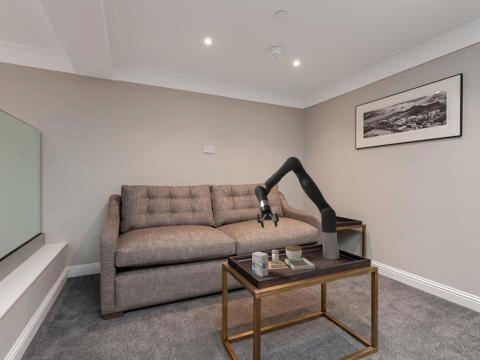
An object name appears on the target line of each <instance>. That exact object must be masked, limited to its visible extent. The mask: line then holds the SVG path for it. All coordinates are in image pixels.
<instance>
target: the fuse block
mask: <svg viewBox="0 0 480 360" xmlns="http://www.w3.org/2000/svg"><path fill="white" fill-rule="evenodd" d="M278 269H289V267H288V265H286V264H285V263H284V262H283V261H281V260H279V264H272V260H271V261H270V260H268V270H278Z"/></svg>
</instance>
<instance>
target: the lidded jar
mask: <svg viewBox="0 0 480 360" xmlns="http://www.w3.org/2000/svg"><path fill="white" fill-rule="evenodd" d="M302 253H303V247H302V246H300V245H294V244H292V245H288V246H285V254H286V257H287V259H291V258H302V255H303V254H302Z"/></svg>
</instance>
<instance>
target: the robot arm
mask: <svg viewBox="0 0 480 360" xmlns="http://www.w3.org/2000/svg"><path fill="white" fill-rule="evenodd" d="M290 172H293V173H294V174H295V176H296V178H297V179H298V182H299V185H300V187H301V189H302V190H303V192H304V194H306V196H307V197H308V198H309V199H310V201H311V202H312V203H314V205H315V206H316V208H317V210H318V211H319V213H320V218H321V239H322V240H321V242H322V258H323V259H325V260H330V261H331V260H332V261H333V260H334V261H335V260H338V259H340V245H339V243H338V231H337V229H338V228H337V226H338V225H337V214H336V211H335V209H334V208H333V207H332V206H331V205H330V204H329V203H328V202H327V200H326V199H325V197H324V195H323V193H322V191H321V190H320V188H319V187H318V185H317V184H316V182H315V181H314V179H313V178H312V177H311V176H310V175H309V173H308V172H307V171H306V169H305V167H304V166H303V164H302V163H301V160H300V159H299V158H298V157H296V156H289V157H288V158H287V159H286V160H285V161H284V163H283V164H282V165H281V166H280V167H279V168H278V169H277V170H276V172H274V173H273V174H272V175H271V176H270V177H269V178H267V179H266V180H265V181H264V185H265V187H263V185H259V184H258V185H256V186H255V188H254V195H255V197H256V199H257V200H258V205H259V210H260V214H259V213H257V214H256V220H257V224H260V226H261V228H262V229H264V228H265V224H264V221H265V222H266V221H271V222H272V223H273V224H274V227H275V228H277V227H278V222H279V221H280V218H279V215H278V213H273V212H272V207H271V204H270V202H269V201H270V200H269V198H268V196H269V193H270V192H271V191H272V189H273V188H274V187H276V185H278V184H279V183H280V181H281V180H283V178H284V177H285V176H286V175H287V174H289V173H290Z"/></svg>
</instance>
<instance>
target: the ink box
mask: <svg viewBox="0 0 480 360" xmlns="http://www.w3.org/2000/svg"><path fill="white" fill-rule="evenodd" d="M251 255H252V256H251V257H252V259H251V260H252V261H251V262H252V264H251V266H252V268H251V269H252V271H251V273H252V274H255V275H257V276H259V277H261V278H262V277H265V276H269V269H268V261H269V254H268V253H265V252H261V251H255V252H252V253H251Z"/></svg>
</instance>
